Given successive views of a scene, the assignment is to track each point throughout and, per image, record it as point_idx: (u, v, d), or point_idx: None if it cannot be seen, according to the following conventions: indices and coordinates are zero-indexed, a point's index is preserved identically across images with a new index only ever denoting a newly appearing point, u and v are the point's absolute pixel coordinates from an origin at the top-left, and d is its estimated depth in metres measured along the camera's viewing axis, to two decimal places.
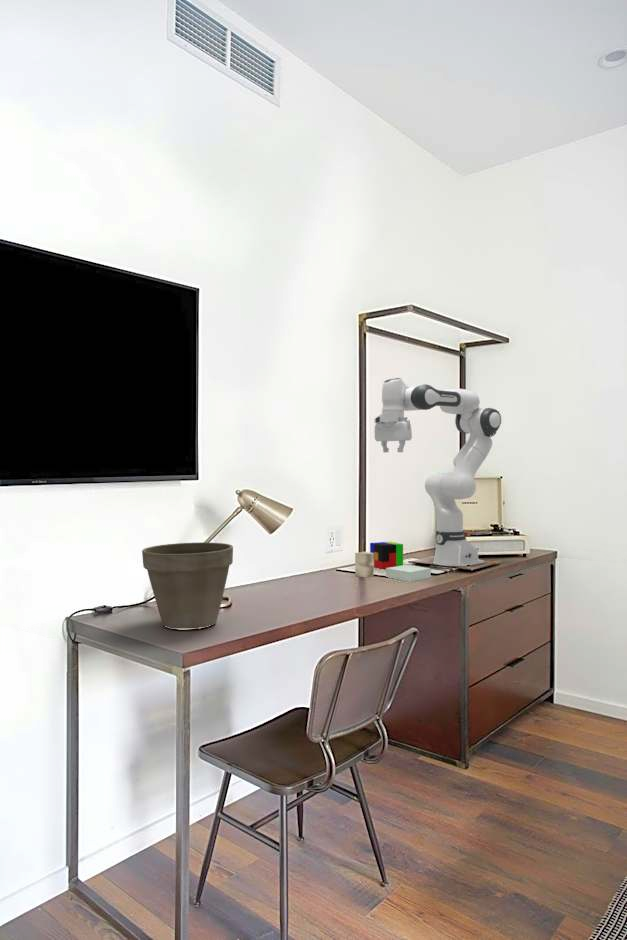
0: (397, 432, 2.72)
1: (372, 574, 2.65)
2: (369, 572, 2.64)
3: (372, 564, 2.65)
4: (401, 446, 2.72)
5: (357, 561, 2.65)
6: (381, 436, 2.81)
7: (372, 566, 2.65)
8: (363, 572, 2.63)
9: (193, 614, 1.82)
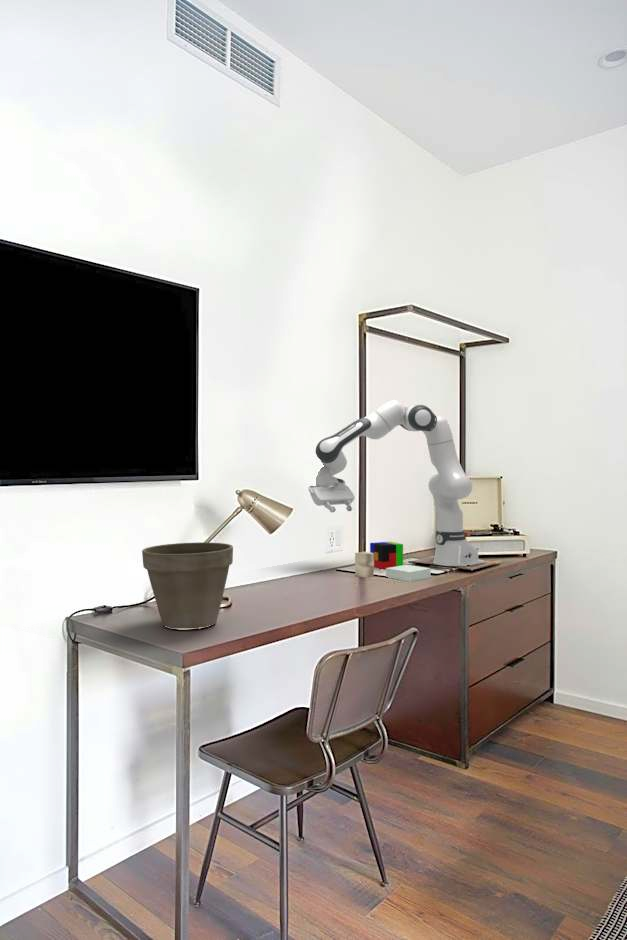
0: None
1: (372, 574, 2.65)
2: (369, 572, 2.64)
3: (372, 564, 2.65)
4: (328, 507, 2.72)
5: (357, 561, 2.65)
6: None
7: (372, 566, 2.65)
8: (363, 572, 2.63)
9: (193, 614, 1.82)
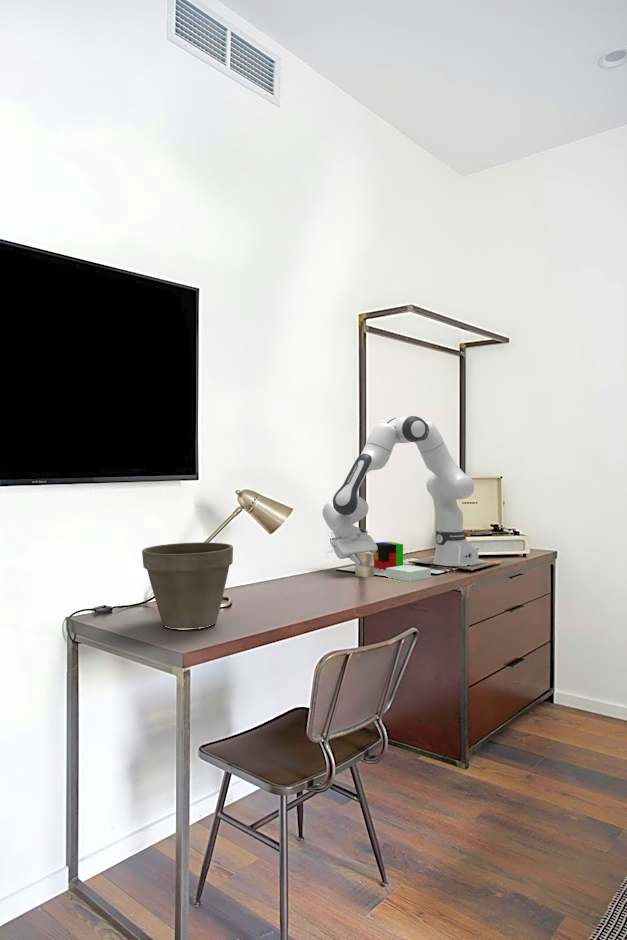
0: None
1: (372, 574, 2.65)
2: (369, 572, 2.64)
3: (372, 564, 2.65)
4: (354, 560, 2.64)
5: None
6: None
7: (372, 566, 2.65)
8: (363, 572, 2.63)
9: (193, 614, 1.82)
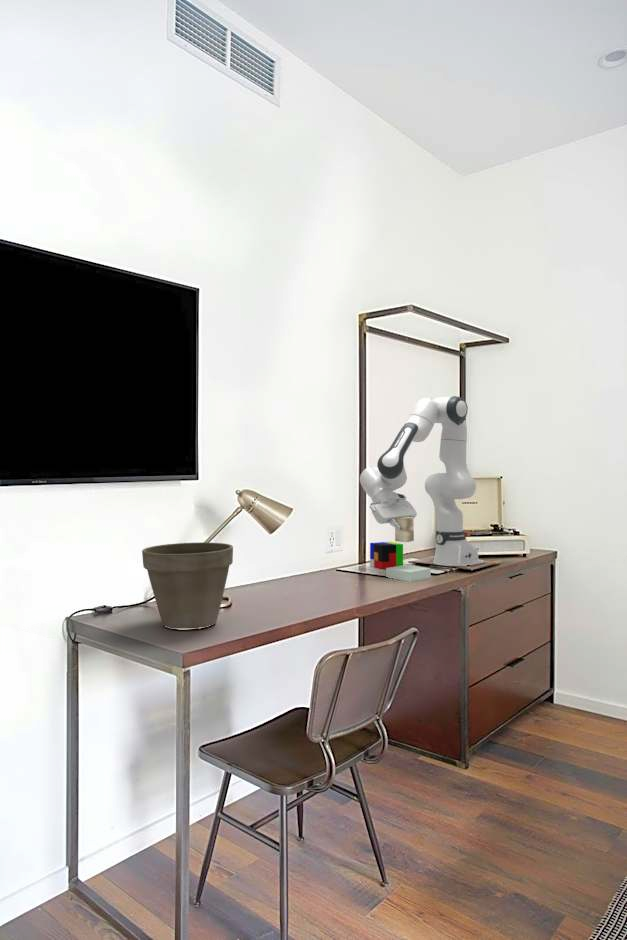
0: None
1: (412, 539, 2.62)
2: (410, 537, 2.61)
3: (412, 529, 2.62)
4: (394, 525, 2.60)
5: None
6: None
7: (412, 531, 2.62)
8: (403, 537, 2.59)
9: (193, 614, 1.82)
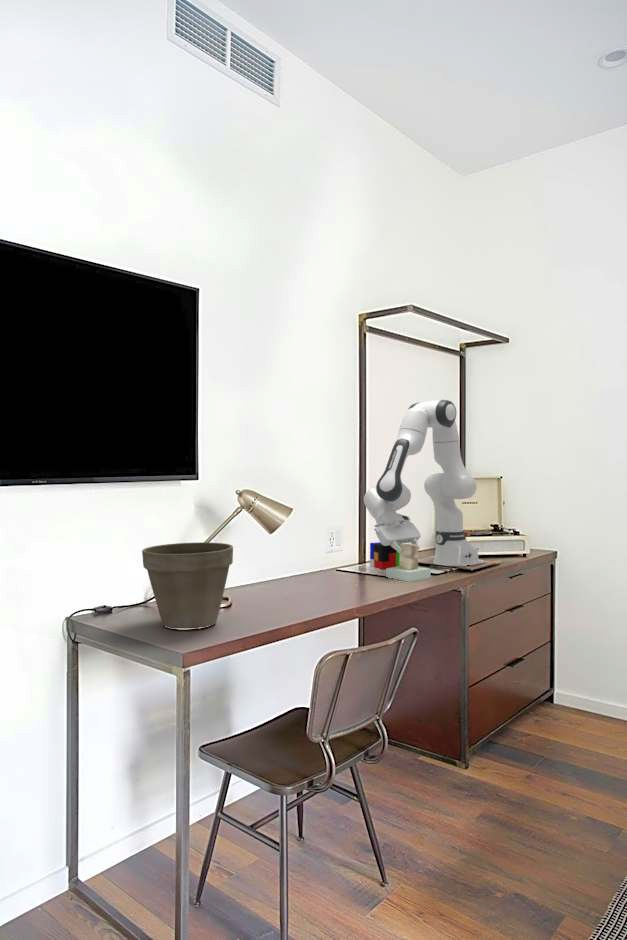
0: None
1: (416, 566, 2.61)
2: (414, 565, 2.60)
3: (416, 556, 2.61)
4: (395, 548, 2.59)
5: None
6: None
7: (417, 558, 2.61)
8: (408, 564, 2.59)
9: (193, 614, 1.82)
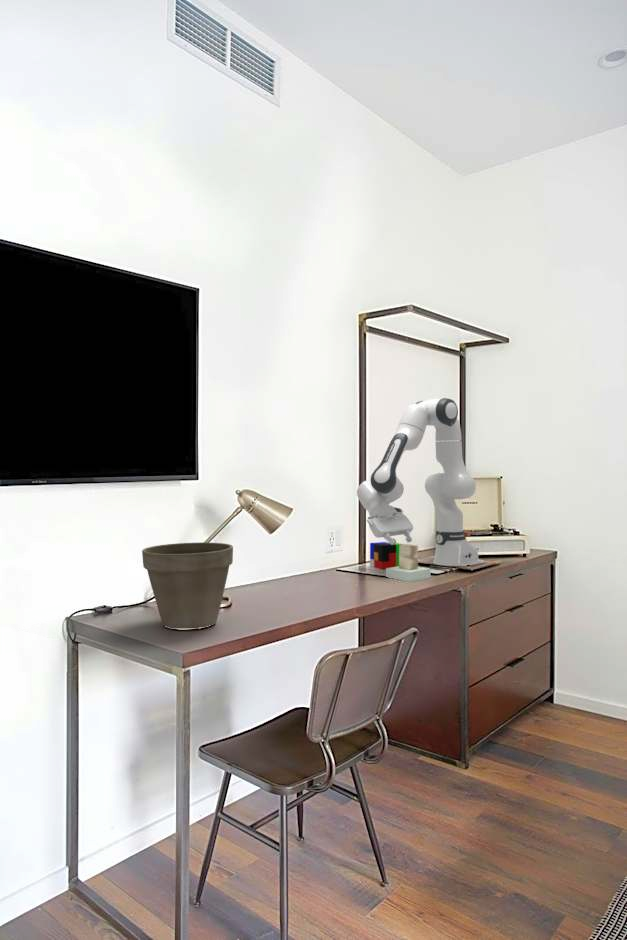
0: None
1: (416, 567, 2.61)
2: (414, 565, 2.60)
3: (416, 556, 2.61)
4: (388, 539, 2.62)
5: (401, 553, 2.61)
6: None
7: (416, 558, 2.61)
8: (407, 564, 2.59)
9: (193, 614, 1.82)
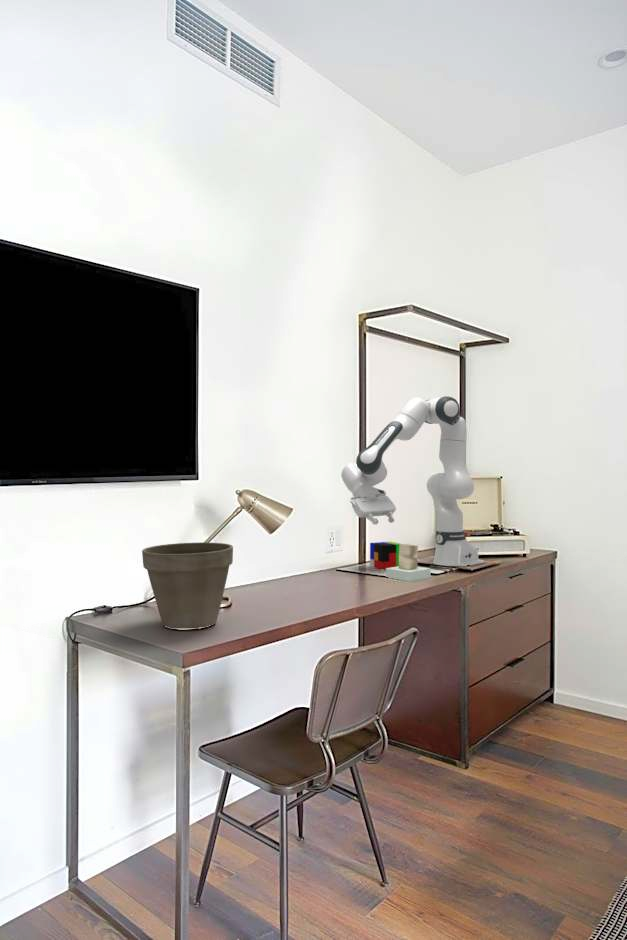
0: None
1: (416, 567, 2.61)
2: (413, 565, 2.60)
3: (416, 556, 2.61)
4: (370, 519, 2.68)
5: (401, 552, 2.61)
6: None
7: (416, 558, 2.61)
8: (407, 564, 2.59)
9: (193, 614, 1.82)
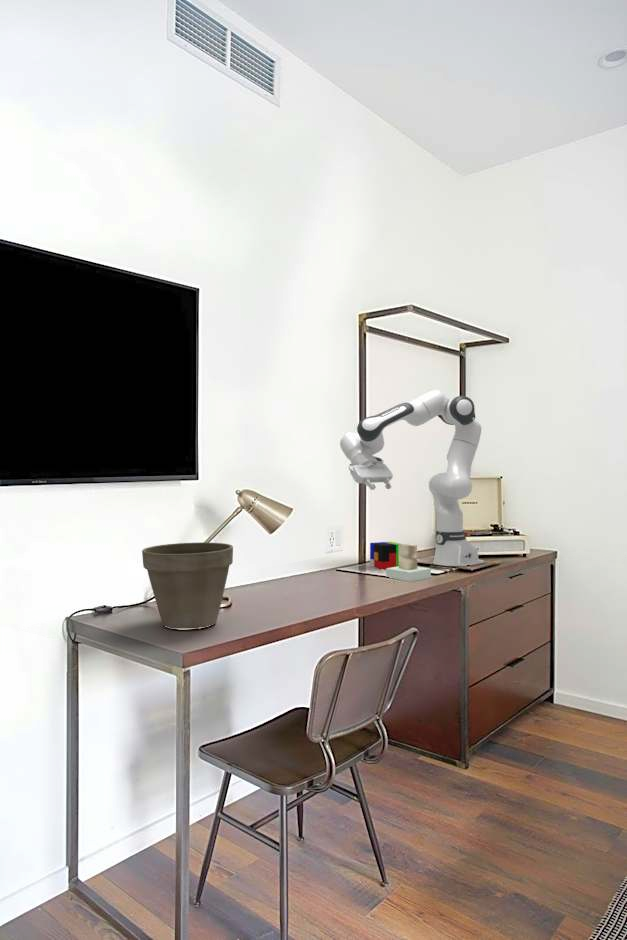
0: None
1: (415, 566, 2.61)
2: (412, 565, 2.60)
3: (415, 556, 2.61)
4: (368, 485, 2.77)
5: (400, 553, 2.62)
6: None
7: (415, 558, 2.61)
8: (405, 564, 2.59)
9: (193, 614, 1.82)
